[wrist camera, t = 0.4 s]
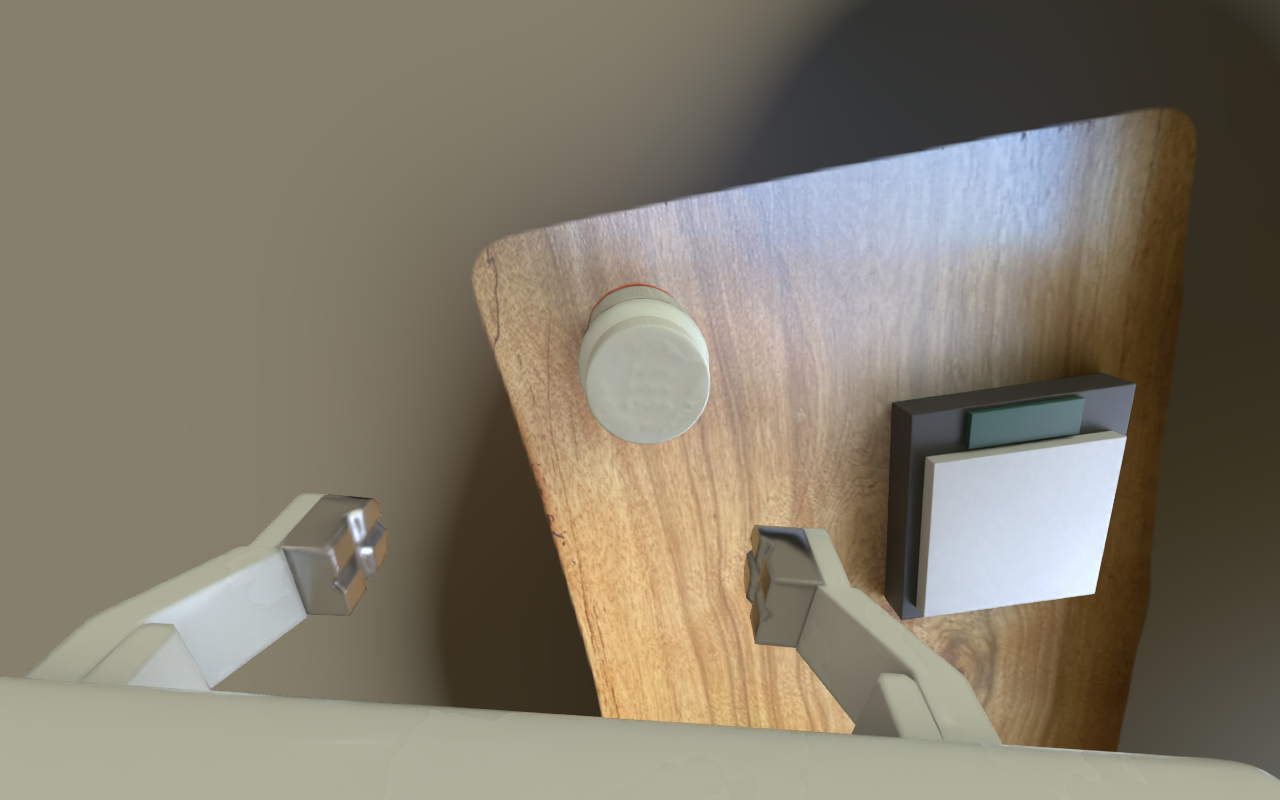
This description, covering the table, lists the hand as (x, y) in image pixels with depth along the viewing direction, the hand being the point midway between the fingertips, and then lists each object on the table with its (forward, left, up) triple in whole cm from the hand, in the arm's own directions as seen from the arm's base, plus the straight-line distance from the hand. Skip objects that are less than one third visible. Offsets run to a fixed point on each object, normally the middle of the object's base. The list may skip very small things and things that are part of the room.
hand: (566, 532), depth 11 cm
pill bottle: (0, +2, -21) cm, 21 cm away
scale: (+15, +25, -21) cm, 36 cm away
